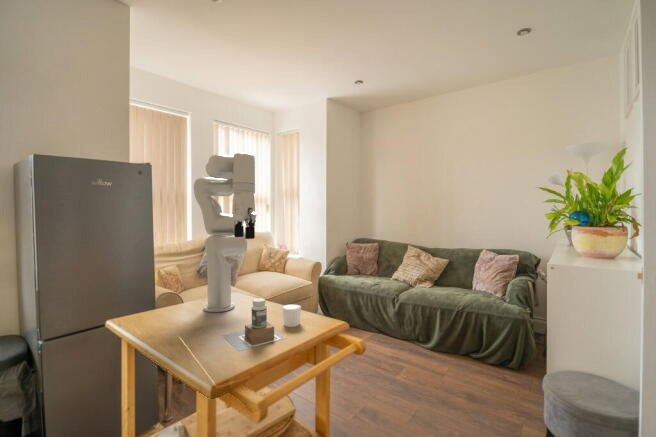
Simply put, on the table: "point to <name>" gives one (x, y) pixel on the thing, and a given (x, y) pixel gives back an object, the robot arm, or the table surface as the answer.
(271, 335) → the walnut base block
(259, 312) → the pill bottle
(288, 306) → the white cylinder
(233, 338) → the blueprint board
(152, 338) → the table surface
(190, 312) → the table surface
